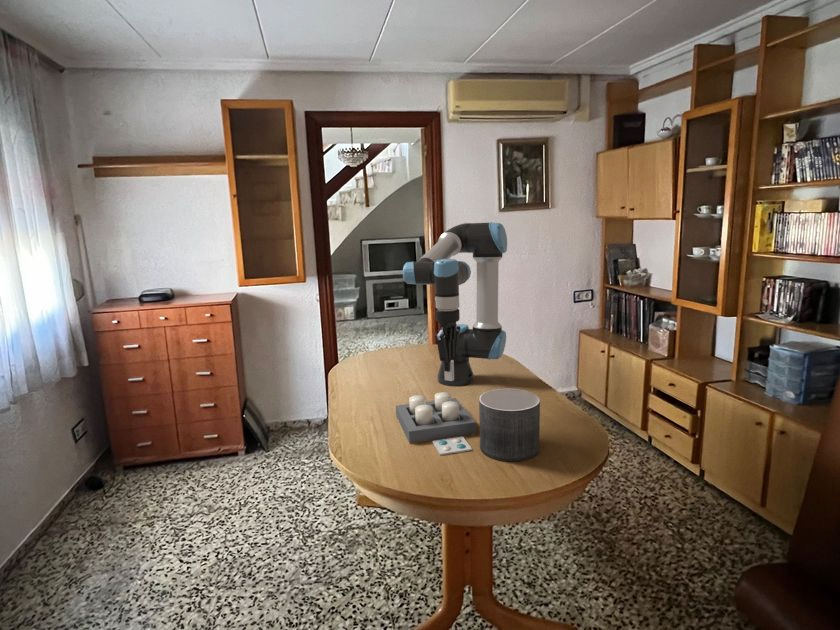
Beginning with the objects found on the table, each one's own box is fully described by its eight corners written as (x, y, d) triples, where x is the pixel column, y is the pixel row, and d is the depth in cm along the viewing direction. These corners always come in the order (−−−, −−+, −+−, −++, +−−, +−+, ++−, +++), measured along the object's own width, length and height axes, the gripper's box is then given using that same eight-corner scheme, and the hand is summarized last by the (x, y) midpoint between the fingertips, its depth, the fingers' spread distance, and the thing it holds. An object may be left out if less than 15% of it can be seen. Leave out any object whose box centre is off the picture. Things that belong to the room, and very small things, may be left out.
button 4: (456, 415, 175) (455, 400, 173) (461, 422, 169) (461, 406, 168) (440, 418, 173) (439, 402, 172) (445, 424, 168) (444, 408, 167)
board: (455, 408, 188) (455, 397, 187) (476, 433, 167) (475, 422, 166) (396, 416, 183) (395, 405, 182) (409, 443, 162) (409, 431, 161)
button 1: (424, 409, 181) (423, 394, 180) (427, 415, 176) (427, 400, 175) (408, 411, 180) (407, 396, 179) (411, 417, 175) (411, 402, 173)
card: (462, 437, 165) (462, 435, 164) (472, 450, 156) (472, 448, 156) (432, 442, 162) (432, 440, 162) (440, 455, 154) (440, 453, 154)
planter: (541, 463, 147) (541, 411, 143) (478, 460, 150) (477, 409, 147) (538, 435, 164) (538, 388, 161) (481, 433, 167) (480, 387, 164)
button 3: (448, 406, 183) (448, 391, 182) (453, 412, 178) (452, 396, 177) (433, 408, 182) (432, 393, 181) (437, 414, 177) (437, 399, 175)
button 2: (430, 419, 173) (429, 403, 171) (434, 426, 167) (434, 410, 166) (414, 421, 171) (413, 406, 170) (418, 428, 166) (417, 412, 165)
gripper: (446, 304, 171) (448, 372, 175) (426, 311, 160) (429, 384, 165) (467, 305, 167) (468, 375, 172) (448, 313, 156) (450, 387, 161)
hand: (449, 379), depth 168 cm, fingers closed
